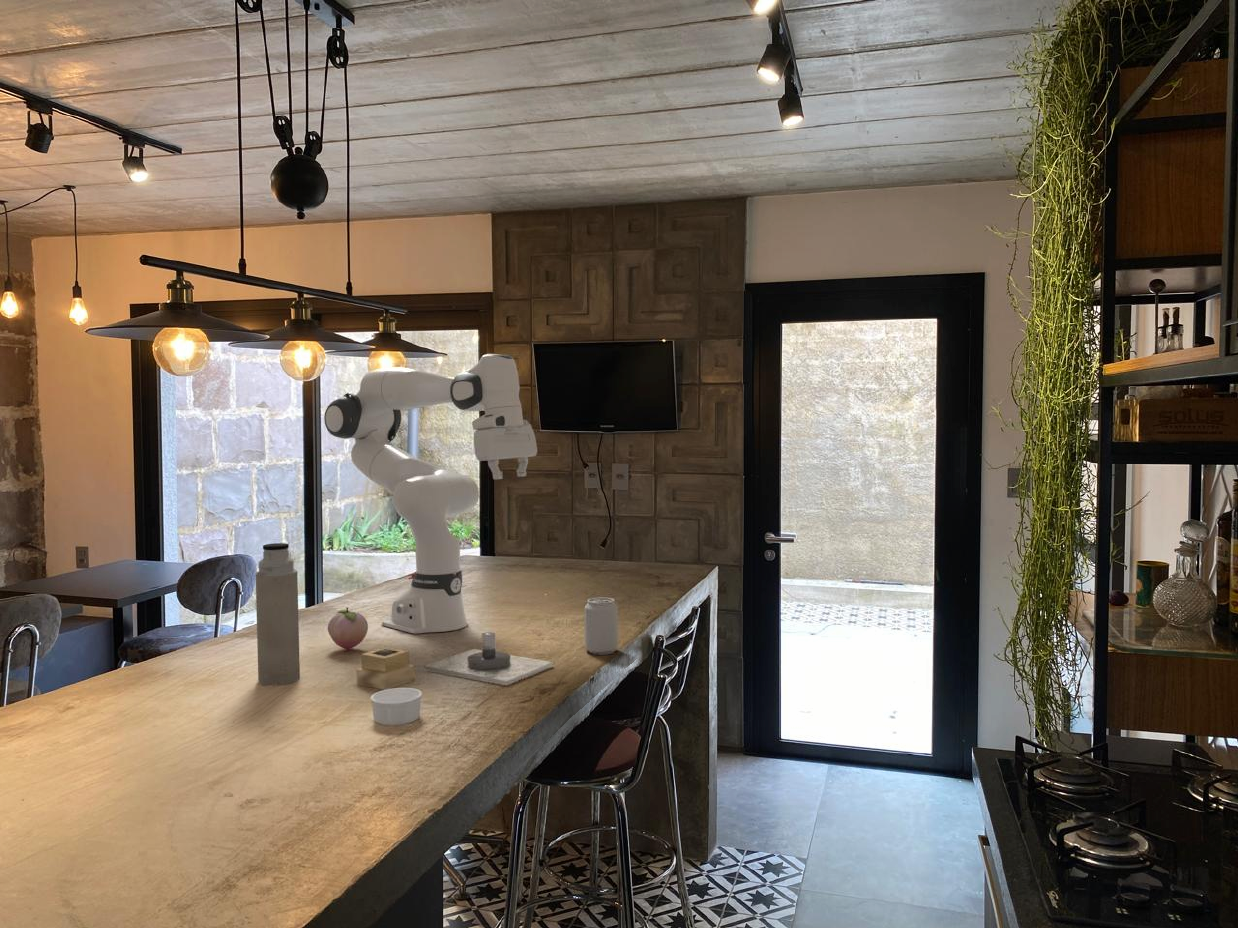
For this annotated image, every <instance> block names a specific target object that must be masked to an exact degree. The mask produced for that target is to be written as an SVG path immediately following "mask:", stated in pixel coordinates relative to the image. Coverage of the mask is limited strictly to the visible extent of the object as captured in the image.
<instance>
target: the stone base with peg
mask: <svg viewBox="0 0 1238 928" xmlns="http://www.w3.org/2000/svg"><path fill="white" fill-rule="evenodd" d="M423 668H424V669H423V671H426V672H431V673H435V674H441V675H445V676H446V675H447V676H451V677H456V678H463V679H468V680H474V681H478V682H483V683H484V682H485V683H488V682H489V684H493V683H494V684H493V685H499V684H500V686H504V685H505V687H507V685H508V686H509V685H513V684H515V683H517V682H519V680H520V681H522V680H524V678H525V679H526V678H529V677H533V676H534V675H536V674H539V673H541V672H544V671H546V670H549V669H551V668H554V661H549V660H543V659H536V658H529V657H524V656H519V655H518V656H517V655H512V654H509V653H506V652H503V651H497V650H496V632H492V631H490V632H482V633H481V649H477V648H472V649H469V650H467V651H464V652H461V653H457V654H454V655H452V656H449V657H446V658H443V659H440V660H438V661H437V660H436V661H434V662H432V663H428V664H425V665H423ZM521 679H522V680H521ZM514 682H515V683H514ZM512 683H513V684H512Z"/></svg>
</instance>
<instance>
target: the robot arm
mask: <svg viewBox="0 0 1238 928" xmlns="http://www.w3.org/2000/svg"><path fill="white" fill-rule="evenodd" d="M520 388H521V387H520V380H519V373H518V368H517V364H516V361H515V359H514V357H512V356H511V355H509V354H502V353H501V354H499V353H486V354H484V355H482V356H481V357H480V359H479V361H478V362H477V363H476V364H474V365H473V366H471V367H470V368H468V369H467V370H465V371H463V372H460V373H458V374H456V375H455V376H454V377H450V376H449V377H448V376H444V375H441V374H436V373H431V372H427V371H423V370H419V369H414V368H409V367H401V366H400V367H399V366H397V367H395V366H393V367H382V368H377V369H373V370H371V371H368V372H367V373H366V374H365V375H364V376H363V377H362V378H361V381H360V384H359V390H358V392H357V393H355V394H354V393H353V392H349V391H348V392H346V393H345V394H344V395H343V396H342V397H339V398H337V399H335V400H333V401H331V402H330V403H329V404H328V406H327V407H326V409H325V412H324V418H323V419H324V425H325V428H326V430H327V432H328V433H329V434H330V435H331V436H333V437H335V438H339V439H345V440H348V439H354V442H355V443H354V445H353V446H352V448H351V452H350V458H351V461H352V463H353V465H354V466H355V467H356V468H357V470H359V471H360V472H361V474H363V475H365V477H367V478H368V479H369V480H371V481H372V482H374V483H375V484H377V485H378V486H380V487H381V488H383V489H384V490H386V491H388V492H390V494H392V503H393V507H394V510H395V511H396V513H397V515H399V516H400V517H401V518H402V519H404V521H405V522H406V523H407V525H408V527H409V528H410V530H411V531H410V532H411V534H412V536H413V541H414V547H415V548H414V549H415V569H416V571H415V572H414V573H411V574H408V575H407V576H409V577H408V578H407V579H408V580H411V583H410V586H409V587H408V588H407V589H405V591H403V593H402V594H400V595H399V596H398V597H396V598H395V599H394V601H393V602H392V605H391V612H390V613H391V616H390V617H387V618H386V619H383V620H382V622H381V625H382V626H383V627H387V628H391V629H396V630H399V631H403V632H407V633H410V634H423V633H424V634H426V633H441V632H444V633H445V632H451V631H456V630H460V629H463V628H465V627H467V626H468V621H467V617H466V613H465V607H464V602H463V595H462V586H463V571H462V570H461V544H460V540H459V538H458V537H457V536H456V535H454V533H451V531H450V530H449V527H448V524H447V520H446V518H447V517H452V516H453V517H454V516H458V515H461V514H463V513H466V512H468V511H470V510H472V509H474V508H475V506H476V505H477V503H478V501H479V494H480V492H479V487H478V484H477V482H476V481H475V480H474V478H472V476H468V475H467V474H461V473H459V472H454V471H452V470H449V469H447V468H444V467H441V466H439V465H436V464H434V463H430V462H428V461H424V460H422V459H419V458H417V457H415V456H414V455H412V454H410V453H408V452H407V451H405V450H403V449H402V448H400V447H398V446H397V445H395V444H393V443H392V441H393V440H395V438H396V436H397V433H398V432H399V429H400V428H401V427H400V426H401V423H402V411H404V410H405V411H406V410H415V409H420V408H424V407H430V406H436V405H442V404H451V403H453V405H454V406H455V407H456V408H457V409H459V410H461V411H466V412H467V411H468V412H482V411H484V414H483V415H482V416H480V417H478V418H475V419H474V420H472V422H471V426H472V429H473V430H475V431H474V432H473V447H474V454H475V455H474V456H475V457H476V459H477V461H479V462H482V461H483V462H484V461H487V465H488V467H489V469H490V470H491V473H492V479H493V480H502V479H503V470H500V467H499V464H500V460H508V459H517V463H519V464H518V468H517V469H516V473H517V474H516V475H517V477H520V478H521V477H527V469H528V468H527V467H528V464H529V458H530V457H536V456H537V454H538V447H537V446H538V444H537V441H536V440H537V439H536V435H535V432H534V430H533V428H532V424H531V423H530V422H529V420H526V419H524V418H523V417H524V415H523V409H522V403H521V400H520V396H519V395H520ZM401 410H402V411H401ZM410 576H411V577H410Z"/></svg>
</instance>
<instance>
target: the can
mask: <svg viewBox="0 0 1238 928" xmlns="http://www.w3.org/2000/svg"><path fill="white" fill-rule="evenodd" d="M618 609H619V607H618V605H617V604H616V603H615V599H614V598H611V597H602V596H601V597H592V598H588V599H587V603H586V604H585V606H584V648H585V650H586V651H589V652H590V653H589V652H588V653H589V654H591V653H593V654H592V655H597V654H598V655H599V656H602V655H610V654H614V653H615V651H616V650H617V649H618V648H619V647H618V646H619V641H618V640H619V638H618V637H619V633H618V632H619V629H618V628H619V626H618V624H619V623H618V619H619V617H618V614H619V613H618Z"/></svg>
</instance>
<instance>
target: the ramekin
mask: <svg viewBox="0 0 1238 928" xmlns="http://www.w3.org/2000/svg"><path fill="white" fill-rule="evenodd" d="M422 696H423V692H422V691H421V690H419V689H416V688H413V687H412V688H411V687H393V688H390V689H387V690H384V689H382V690H380V691H377V692H375V693H373V694H372V695H371V696H370V702H371V705H372V712H373V713H372V714H373V721H375V723H377V724H379V725H382V726H402V725H407V724H410V723H412V722H415V721H417V720H418V718H419V717H420V715H421V701H422V700H421V699H422Z"/></svg>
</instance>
